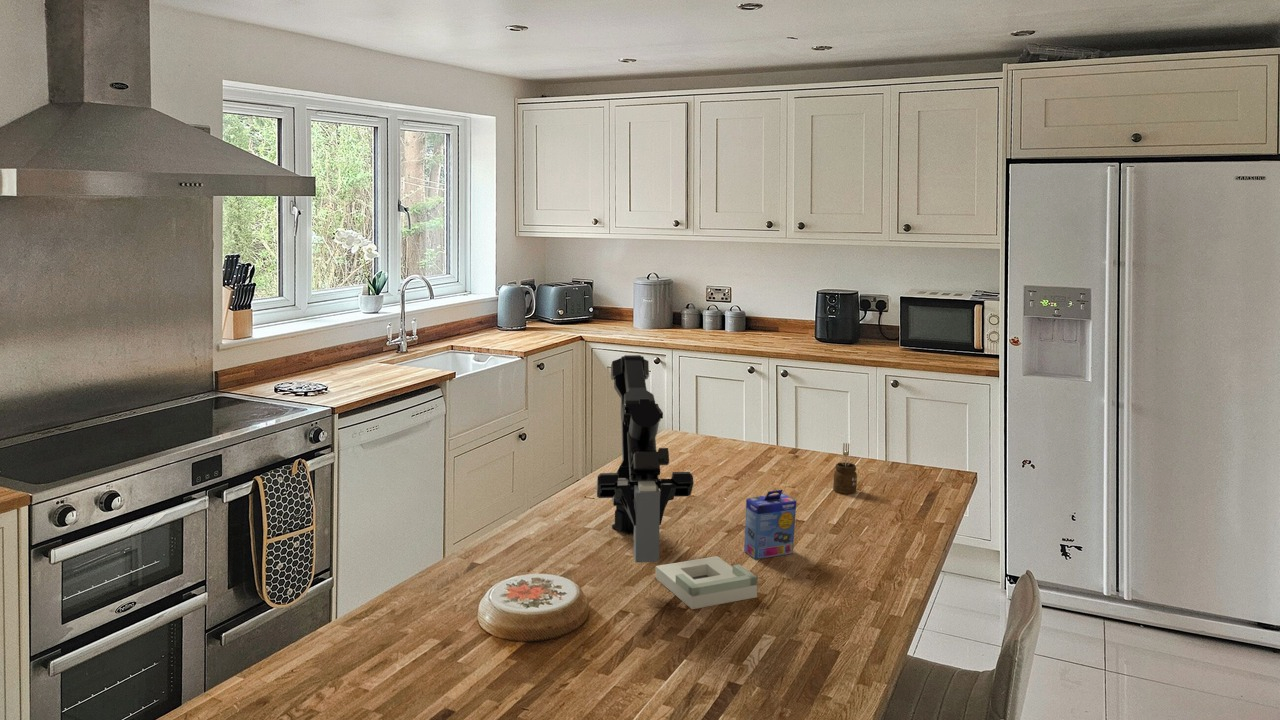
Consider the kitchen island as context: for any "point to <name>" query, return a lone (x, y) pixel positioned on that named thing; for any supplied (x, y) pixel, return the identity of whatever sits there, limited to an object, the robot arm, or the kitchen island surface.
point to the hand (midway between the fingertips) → (647, 524)
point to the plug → (646, 521)
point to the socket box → (707, 581)
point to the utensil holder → (845, 476)
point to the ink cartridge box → (769, 525)
